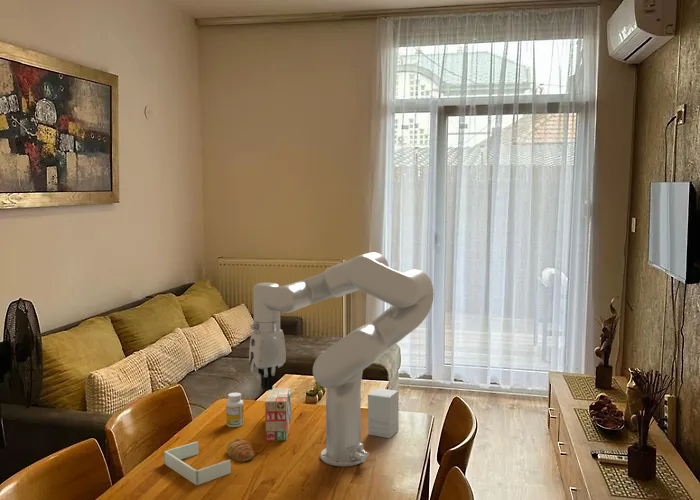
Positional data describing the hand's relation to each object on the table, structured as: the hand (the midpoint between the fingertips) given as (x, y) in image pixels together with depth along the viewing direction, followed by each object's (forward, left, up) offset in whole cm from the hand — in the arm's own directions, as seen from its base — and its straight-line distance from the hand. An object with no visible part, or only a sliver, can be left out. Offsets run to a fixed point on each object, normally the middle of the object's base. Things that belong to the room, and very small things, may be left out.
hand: (267, 389), depth 181 cm
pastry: (0, +9, -17) cm, 19 cm away
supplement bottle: (+21, -2, -17) cm, 27 cm away
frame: (0, +23, -17) cm, 28 cm away
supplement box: (-16, -31, -17) cm, 39 cm away
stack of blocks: (+9, -11, -17) cm, 22 cm away
